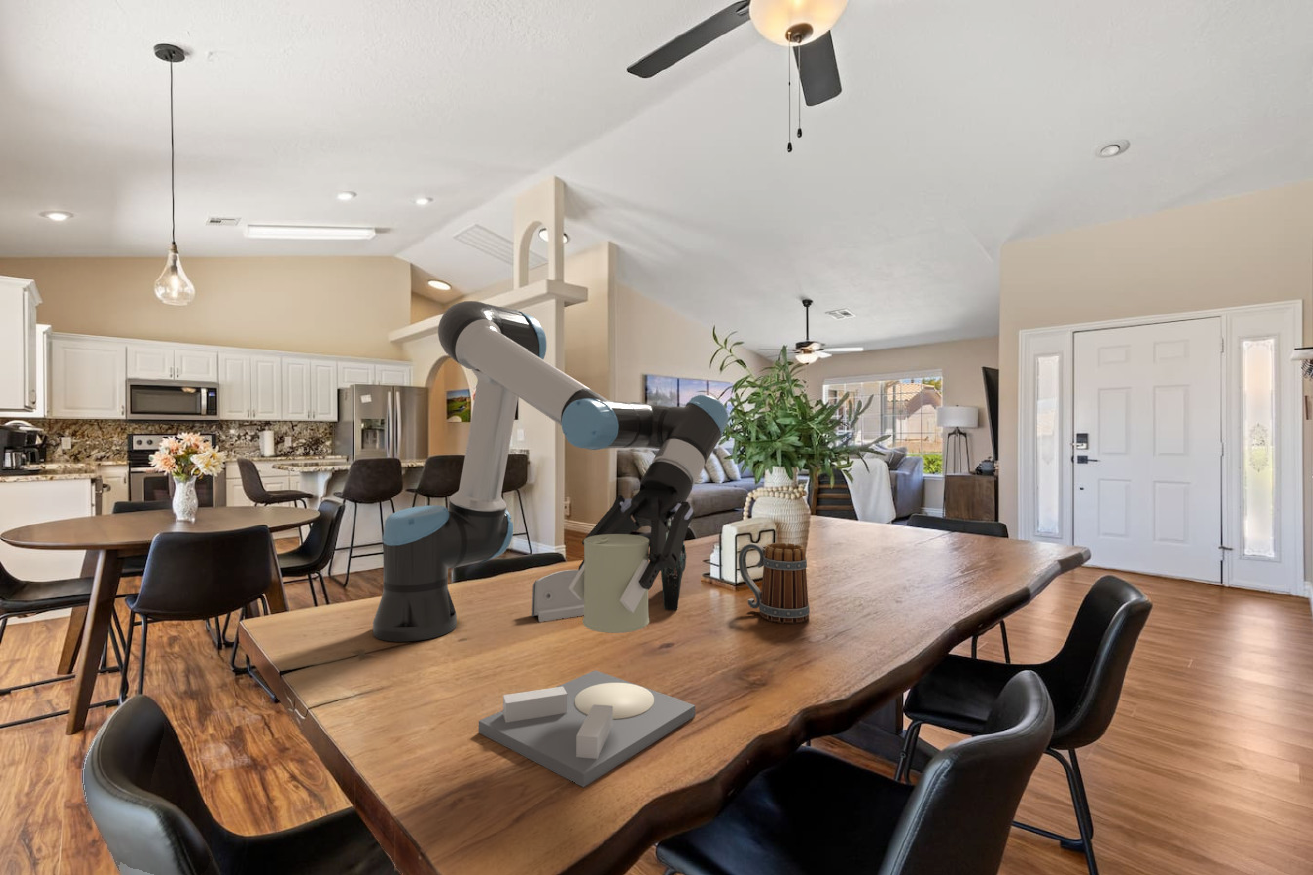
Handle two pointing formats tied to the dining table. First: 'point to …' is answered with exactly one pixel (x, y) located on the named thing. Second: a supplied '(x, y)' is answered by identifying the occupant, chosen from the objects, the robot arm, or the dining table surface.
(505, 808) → the dining table surface
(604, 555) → the can
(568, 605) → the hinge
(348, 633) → the dining table surface
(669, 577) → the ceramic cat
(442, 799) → the dining table surface
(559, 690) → the coupling stand
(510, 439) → the robot arm
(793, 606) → the mug
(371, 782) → the dining table surface
